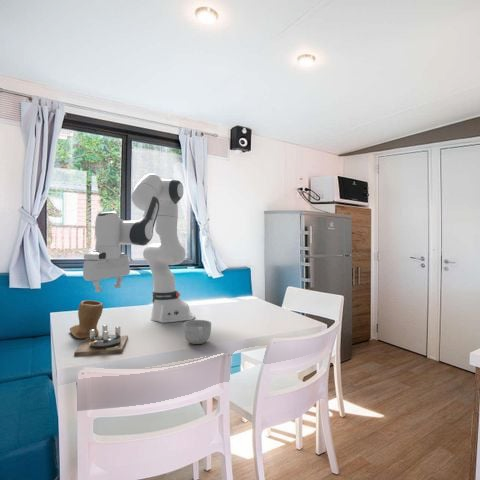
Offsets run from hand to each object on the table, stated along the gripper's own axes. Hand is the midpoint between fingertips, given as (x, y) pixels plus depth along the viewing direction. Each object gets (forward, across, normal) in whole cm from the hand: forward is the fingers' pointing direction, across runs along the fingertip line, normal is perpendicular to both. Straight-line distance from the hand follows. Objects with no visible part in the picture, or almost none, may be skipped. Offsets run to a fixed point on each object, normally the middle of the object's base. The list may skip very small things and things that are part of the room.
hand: (108, 289), depth 126 cm
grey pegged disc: (+21, +1, -1) cm, 21 cm away
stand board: (+22, +1, -2) cm, 22 cm away
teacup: (+22, -17, +29) cm, 41 cm away
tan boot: (+22, -8, -21) cm, 32 cm away
